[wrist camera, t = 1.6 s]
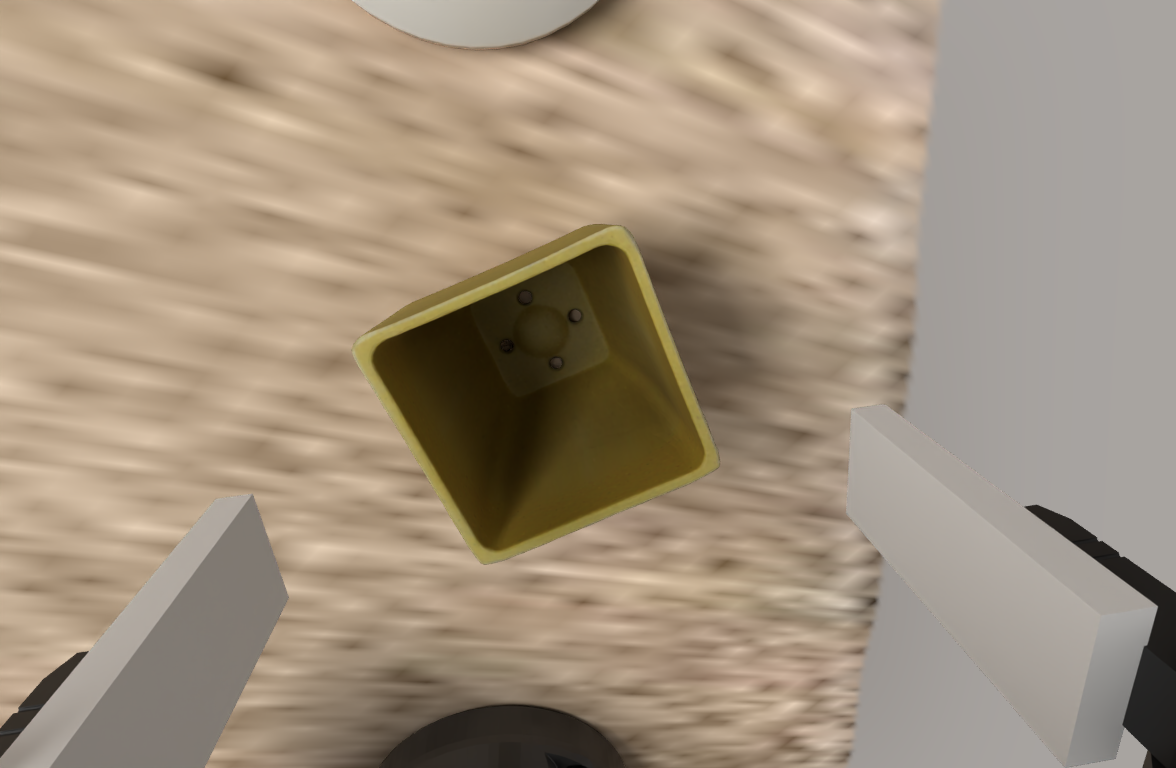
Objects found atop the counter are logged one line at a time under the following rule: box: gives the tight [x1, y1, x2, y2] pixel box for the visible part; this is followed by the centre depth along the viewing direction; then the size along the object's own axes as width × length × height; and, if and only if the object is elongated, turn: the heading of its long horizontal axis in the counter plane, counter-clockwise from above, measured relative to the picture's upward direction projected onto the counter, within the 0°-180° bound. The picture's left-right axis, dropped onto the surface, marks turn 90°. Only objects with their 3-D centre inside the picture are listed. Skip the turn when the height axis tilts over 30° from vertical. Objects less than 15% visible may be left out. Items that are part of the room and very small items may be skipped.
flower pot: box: [351, 224, 720, 565], centre depth 24 cm, size 9×9×9 cm
